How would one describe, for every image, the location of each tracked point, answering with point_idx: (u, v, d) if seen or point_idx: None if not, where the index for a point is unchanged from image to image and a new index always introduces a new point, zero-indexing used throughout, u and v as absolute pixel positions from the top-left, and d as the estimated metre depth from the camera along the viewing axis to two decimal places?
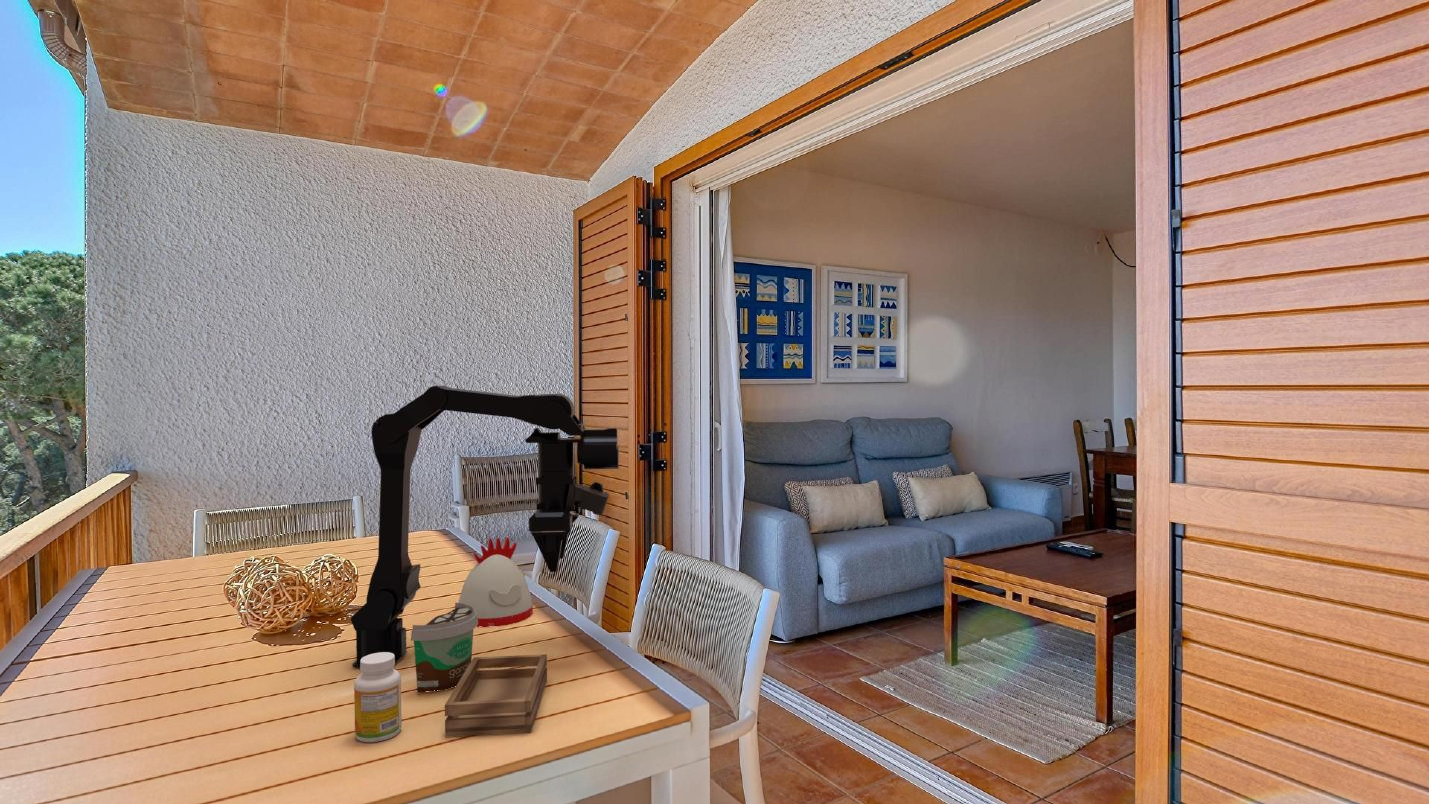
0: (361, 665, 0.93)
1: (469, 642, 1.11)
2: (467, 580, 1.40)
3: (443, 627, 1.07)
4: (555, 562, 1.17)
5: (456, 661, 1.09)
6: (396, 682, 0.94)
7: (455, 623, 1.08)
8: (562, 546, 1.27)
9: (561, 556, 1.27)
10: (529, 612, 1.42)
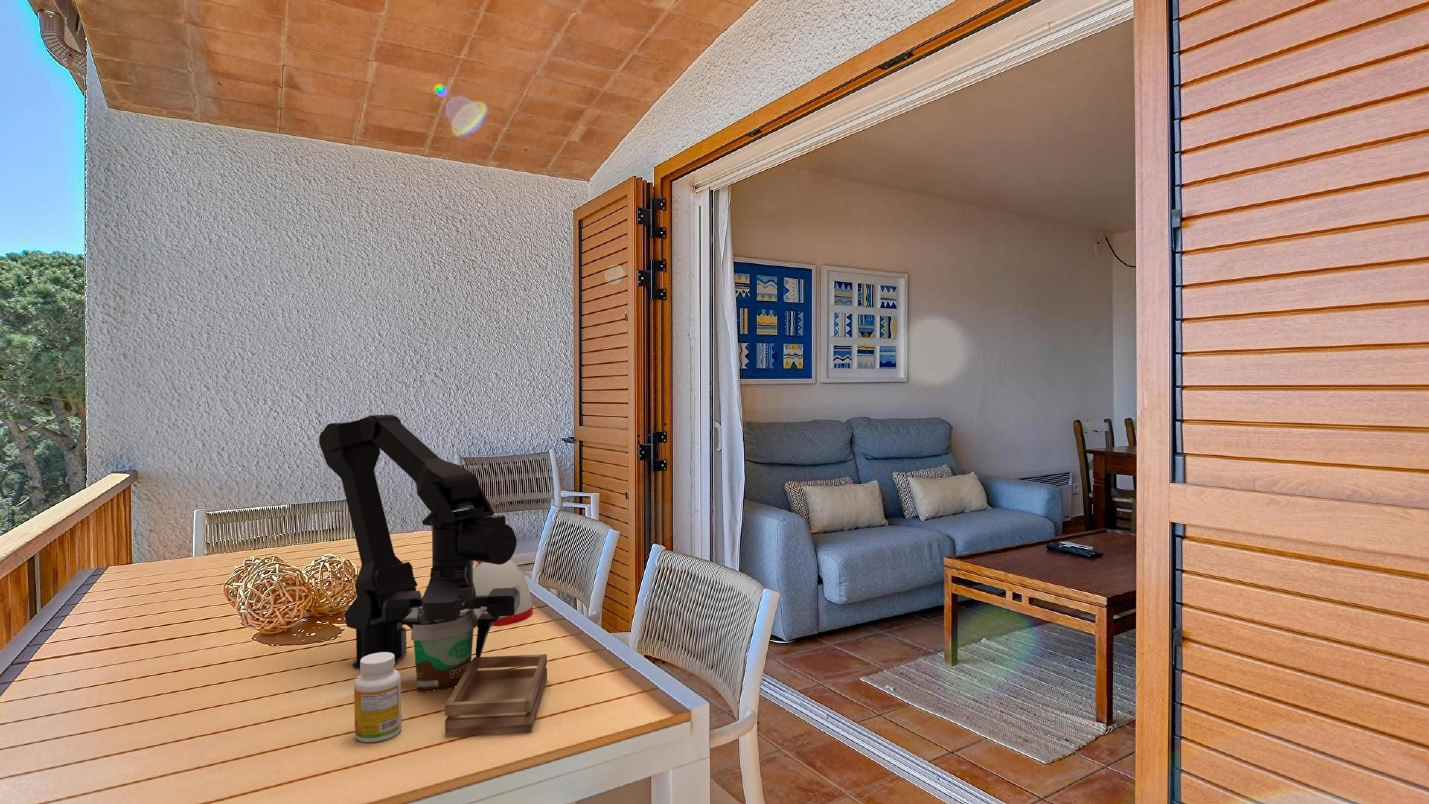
0: (361, 665, 0.93)
1: (469, 642, 1.11)
2: None
3: (443, 627, 1.07)
4: None
5: (456, 661, 1.09)
6: (396, 682, 0.94)
7: (455, 623, 1.08)
8: None
9: None
10: (529, 612, 1.42)
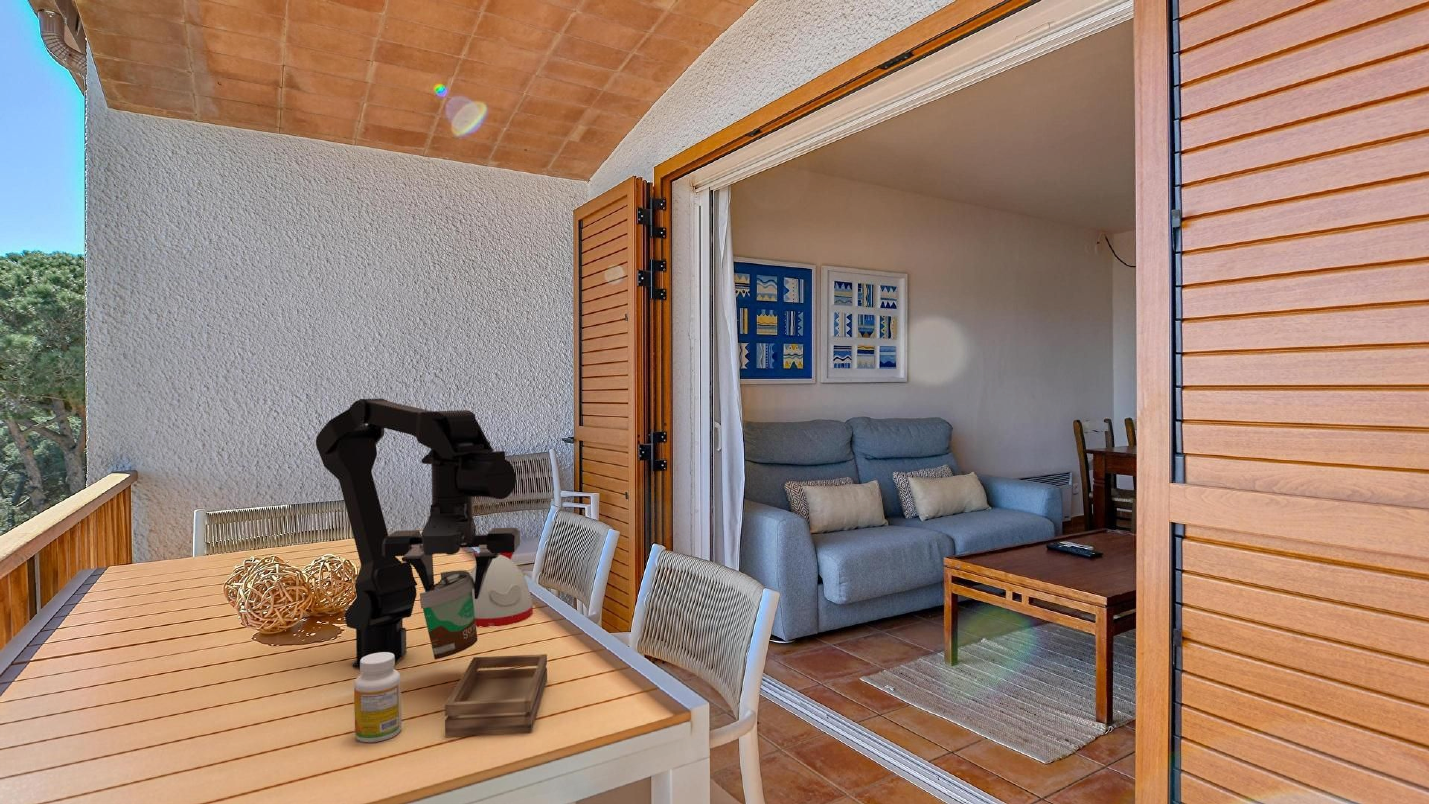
0: (361, 665, 0.93)
1: (472, 602, 1.11)
2: None
3: (451, 589, 1.07)
4: None
5: (467, 621, 1.09)
6: (396, 682, 0.94)
7: (460, 583, 1.08)
8: (475, 585, 1.11)
9: None
10: (529, 612, 1.42)
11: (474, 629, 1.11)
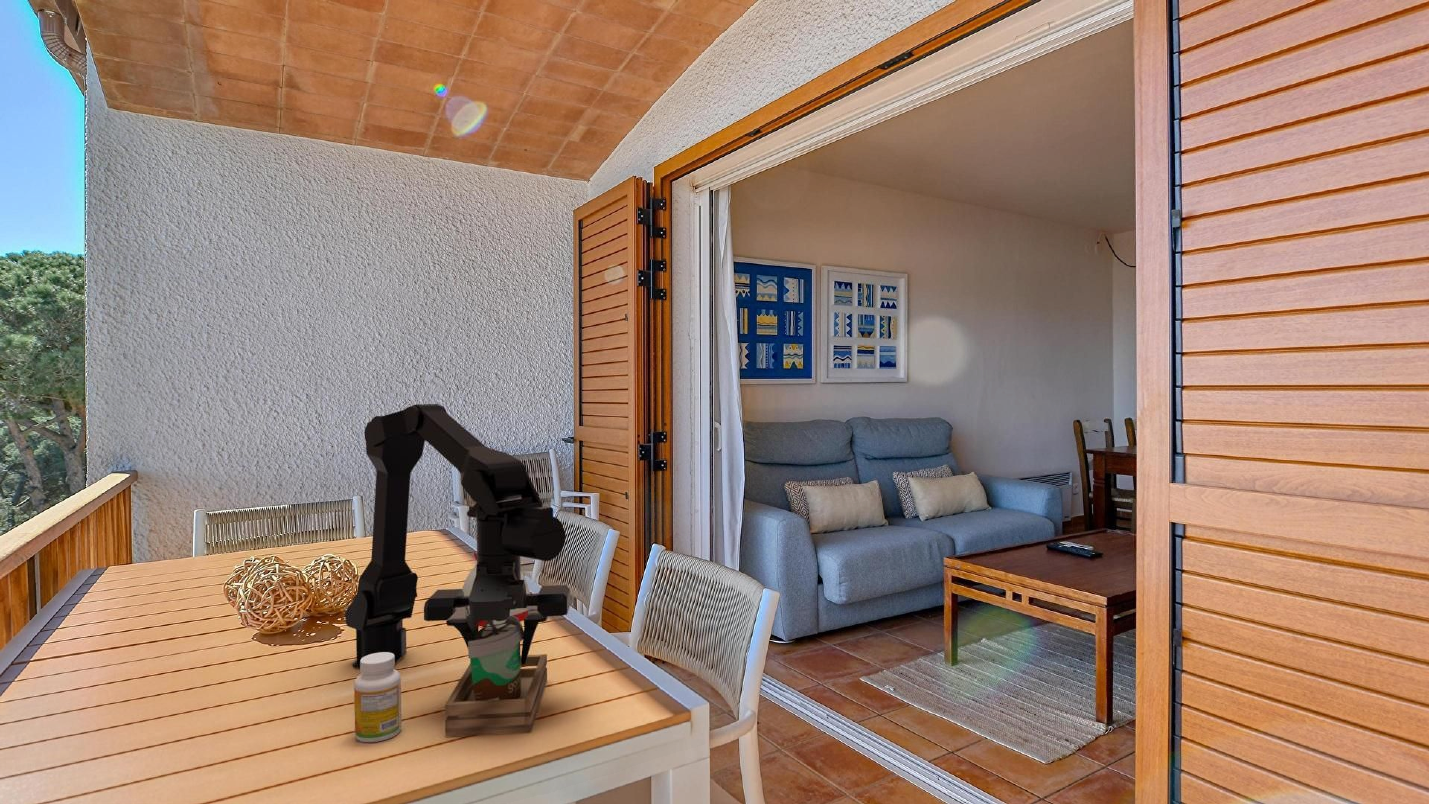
0: (361, 665, 0.93)
1: None
2: (467, 580, 1.40)
3: (501, 638, 0.98)
4: None
5: (513, 673, 1.00)
6: (396, 682, 0.94)
7: (511, 632, 1.00)
8: (522, 649, 1.02)
9: None
10: None
11: (519, 682, 1.02)
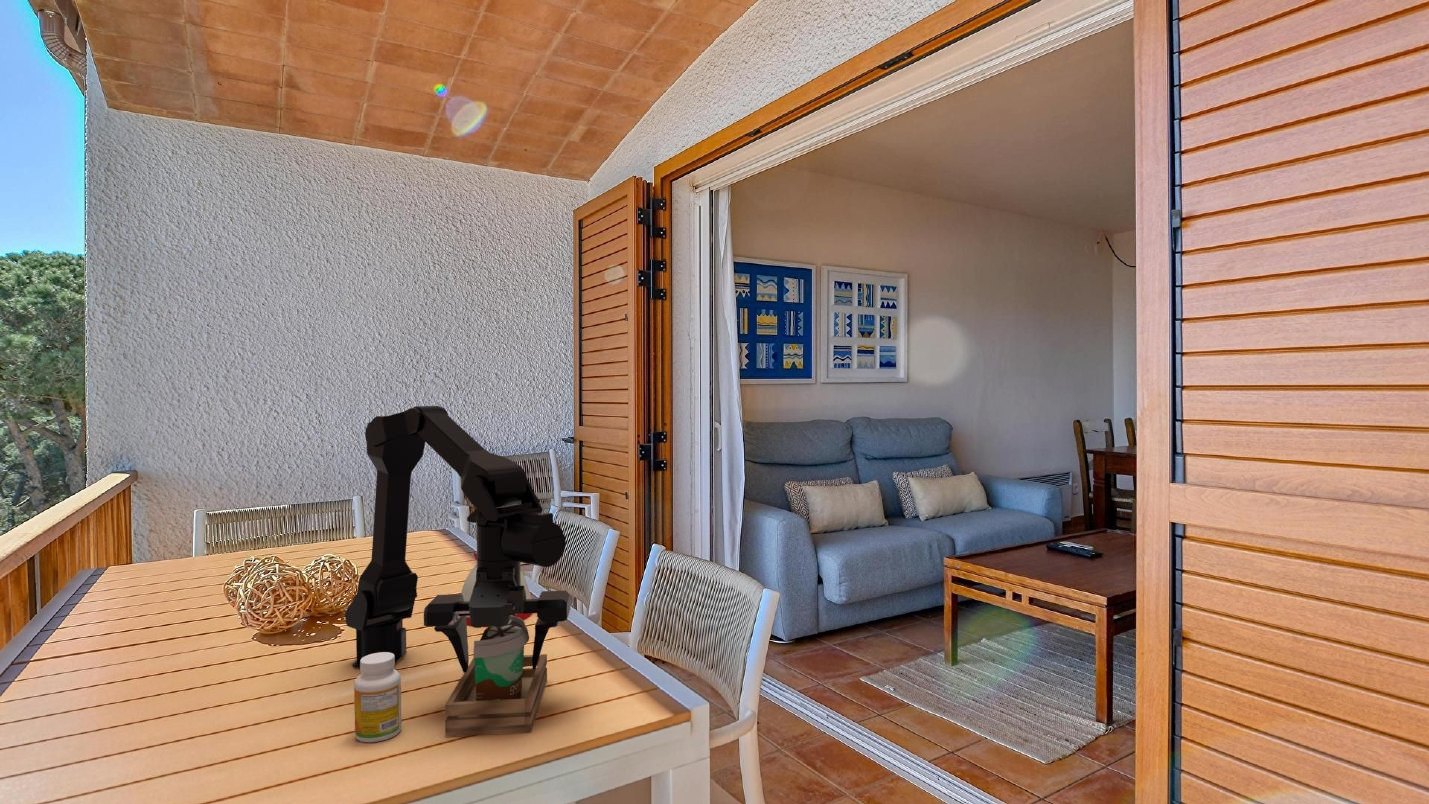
0: (361, 665, 0.93)
1: (523, 654, 1.03)
2: (467, 580, 1.40)
3: (507, 640, 0.98)
4: None
5: (515, 676, 1.01)
6: (396, 682, 0.94)
7: (516, 635, 1.00)
8: (533, 654, 1.02)
9: None
10: None
11: (520, 685, 1.02)
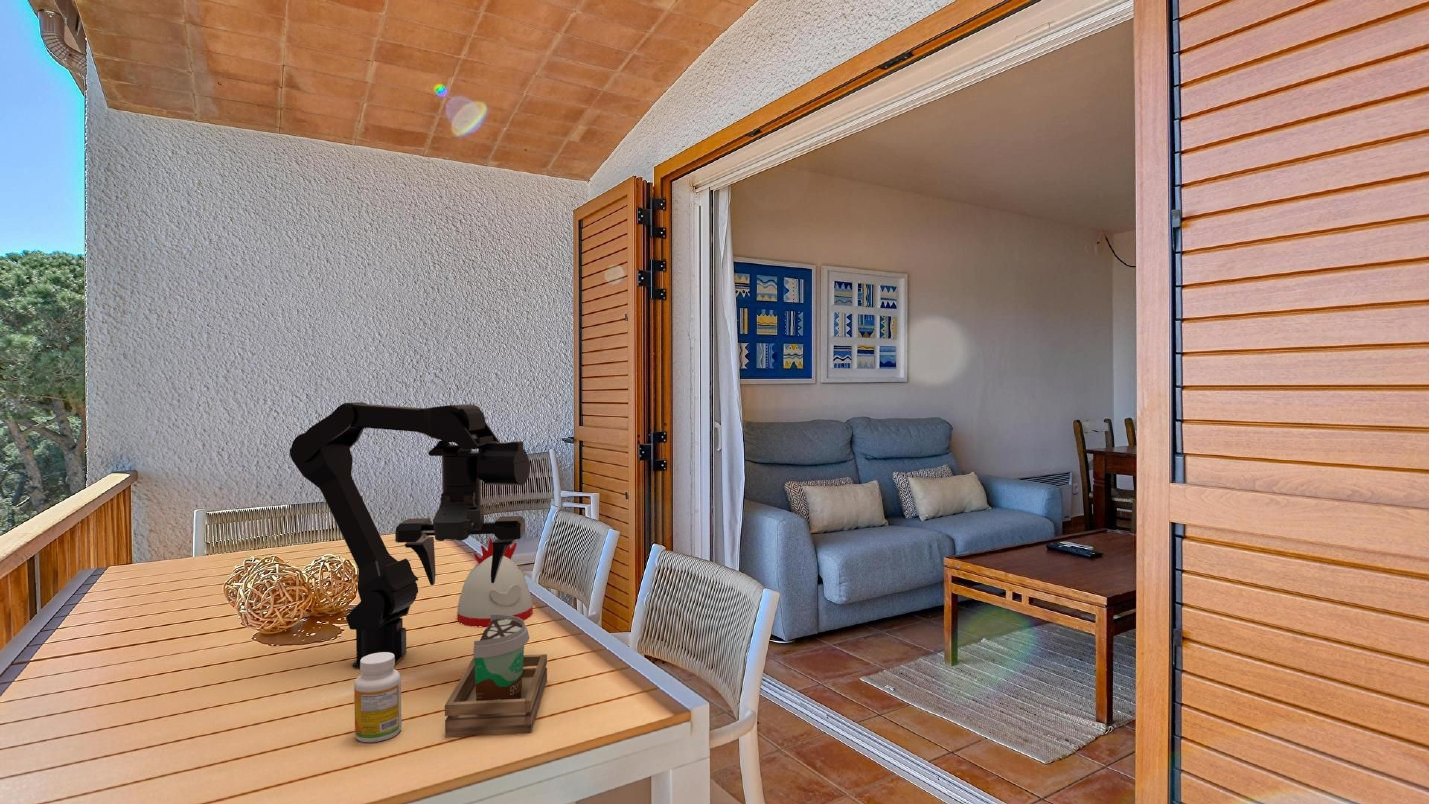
0: (361, 665, 0.93)
1: (523, 654, 1.03)
2: (467, 580, 1.40)
3: (507, 640, 0.98)
4: None
5: (515, 676, 1.01)
6: (396, 682, 0.94)
7: (516, 635, 1.00)
8: None
9: (491, 580, 1.17)
10: (529, 612, 1.42)
11: (520, 685, 1.02)
